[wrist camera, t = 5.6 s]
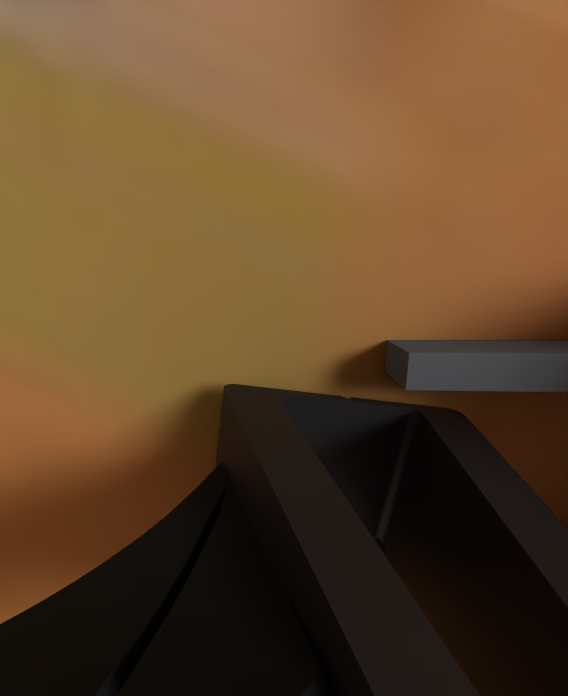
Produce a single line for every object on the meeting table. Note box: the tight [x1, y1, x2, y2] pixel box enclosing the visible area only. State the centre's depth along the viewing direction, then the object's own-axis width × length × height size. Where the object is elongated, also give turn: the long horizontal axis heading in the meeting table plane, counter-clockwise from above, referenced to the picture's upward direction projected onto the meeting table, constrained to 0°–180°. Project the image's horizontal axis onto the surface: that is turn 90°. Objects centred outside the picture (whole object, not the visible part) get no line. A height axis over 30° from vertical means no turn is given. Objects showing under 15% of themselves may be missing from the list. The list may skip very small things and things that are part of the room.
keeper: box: [373, 340, 568, 556], centre depth 10 cm, size 10×9×2 cm
